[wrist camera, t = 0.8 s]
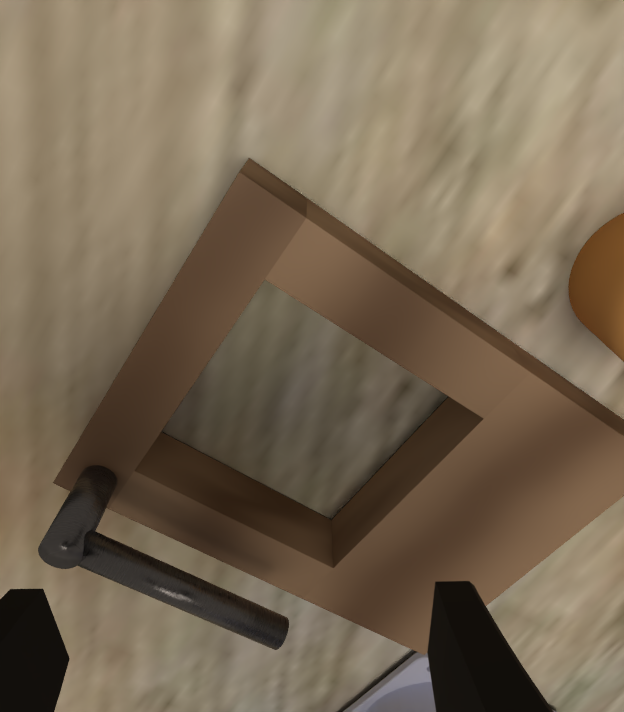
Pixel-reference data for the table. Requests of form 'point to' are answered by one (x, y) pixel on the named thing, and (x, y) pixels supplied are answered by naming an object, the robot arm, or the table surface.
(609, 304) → the orange rounded capsule
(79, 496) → the hook
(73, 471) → the brown square frame
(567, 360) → the table surface
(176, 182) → the table surface
